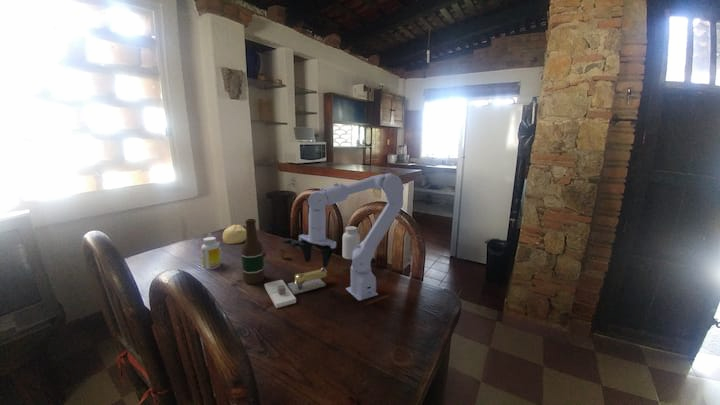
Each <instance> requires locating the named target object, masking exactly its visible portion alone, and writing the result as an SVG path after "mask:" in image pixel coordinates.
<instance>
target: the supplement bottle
mask: <svg viewBox="0 0 720 405" xmlns="http://www.w3.org/2000/svg"><path fill="white" fill-rule="evenodd" d="M206 237H207V236H206ZM206 237H205V238H204V239H203V242H204V245H202V247H201V257H202V258H201V259H202V266H203V269H204V270H214V269H216V268H219V267H220V266H221V264H222V262H221V253H220V252H221V251H220V250H219V247H220V244H218V243H216V241H217V238H216V237H215V236H213V237H207V238H206Z"/></svg>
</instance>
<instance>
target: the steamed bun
mask: <svg viewBox="0 0 720 405" xmlns="http://www.w3.org/2000/svg"><path fill="white" fill-rule="evenodd" d="M222 241H223V243H224V244H225V245H226V244H227V245H228V244H229V245H236V244H240V243H243V242H246V228H245V227H244V226H243V225H241V224H232V225H231V226H227V228H225V229H224V231H223V232H222ZM235 243H236V244H235Z"/></svg>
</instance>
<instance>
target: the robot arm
mask: <svg viewBox="0 0 720 405" xmlns="http://www.w3.org/2000/svg"><path fill="white" fill-rule="evenodd" d="M370 189H371V190H372V189H374V190H377V191H383V192H384V194H385V197H386V202H387V203H386V205H385V206H384V207H383V209H382V211H381V213H380V214H379V216H378V217H377V219H376V220H375V222H374V224H372V227H371V228H370V230H369V232H368V233H367V234H366V236H365V237H364V239H363V240H362V241H361V242H360V245H359V246H358V247H356V248H355V249H354V250H353V251H352V259H351V260H352V261H351V266H350V286H349V287H346V288H345V290H346V291H347V292H348V293H350V294H351V295H352V296H353V297H354V298H355V299H356V300H357V301H363V300H366V299H369V298H373V297H376V296H379V294H378V292H377V278H376V276H375V275H374V274H373V272H372V266H371V265H372V263H371V262H372V259H373V258H374V257H375V256H374V255H375V252H376V249H377V248H378V246H379V244H380V243H381V242H382V239H383V238H384V236H385V235H386V233H387V232H388V230H389V229H390V227H391V226H392V224H393V222H394V221H395V219H396V218H397V216H398V215H399V213H400V211H401V210H402V208H403V206H404V190H405V186H404V184H403V181H402V179H401V178H400V176H398V175H396V174H394V173H393V172H386V173H384V174H382V173H381V174H377V175H373V176H370V177H366V178H364V179H361V180H359V181H355V182H353V183H350V184H347V185H345V184H343V183H338V182H335V183H333V185H332V186H329V187H326V188H323V187H321V188H320V189H319V190H315V191H312V193H311V194H310V195H309V196H308V199H307V205H308V206H309V208H308V234H300V235H298V241H299V242H301V243H299V246H300V248H301V250H302V251H301V252H302V254H303V257H304V261H305V262H306V263H308V262H311V261H312V251H311V249H312V246H313V245H319V246H323V247H322V248H320V250H321V255H322V267H324V268H326V267H327V266H329V262H330V259H331V256H332V255H333V252H334V251H335V249H336V248H337V241H335V240H332V239H329V238H327V237H326V226H327V225H326V224H327V223H326V222H327V220H326V219H327V218H326V216H327V215H326V214H327V213H326V206H330V205H331V206H332V205H334V204H337V203H340V202H344V201H346V200H347V199H348V197H349V195H353V194H356V193H360V192H363V191H367V190H370Z"/></svg>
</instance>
